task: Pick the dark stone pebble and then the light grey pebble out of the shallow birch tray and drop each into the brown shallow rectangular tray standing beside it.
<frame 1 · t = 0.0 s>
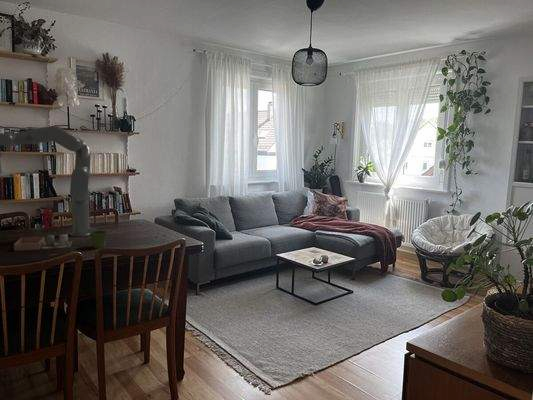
pebble dark: (50, 245, 220), point 1 cm above the table, touching birch tray
brown shallow rectangular tray: (30, 247, 216), on the table
birch tray: (57, 246, 221), on the table
pebble grey: (63, 245, 222), point 1 cm above the table, touching birch tray
plant pot: (98, 247, 221), on the table
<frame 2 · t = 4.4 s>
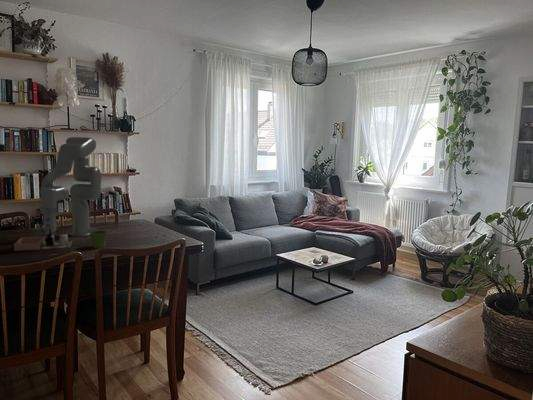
hand: (50, 243, 219), 2 cm above the table, fingers closed on pebble dark, 4 cm apart
pebble dark: (50, 245, 220), point 1 cm above the table, touching birch tray, gripper
everything else where it was.
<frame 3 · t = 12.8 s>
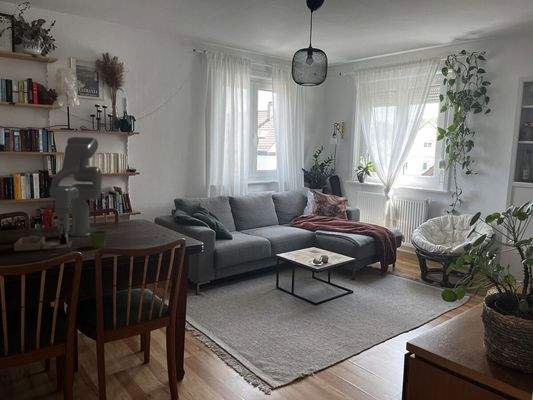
hand: (63, 242, 222), 2 cm above the table, fingers closed on pebble grey, 4 cm apart
pebble dark: (33, 246, 216), point 1 cm above the table, touching brown shallow rectangular tray
pebble grey: (63, 245, 222), point 1 cm above the table, touching birch tray, gripper
everything else where it was.
when the fingers open (3 cm above the table, at t = 17.3 s): pebble grey stays where it is, resting on brown shallow rectangular tray.
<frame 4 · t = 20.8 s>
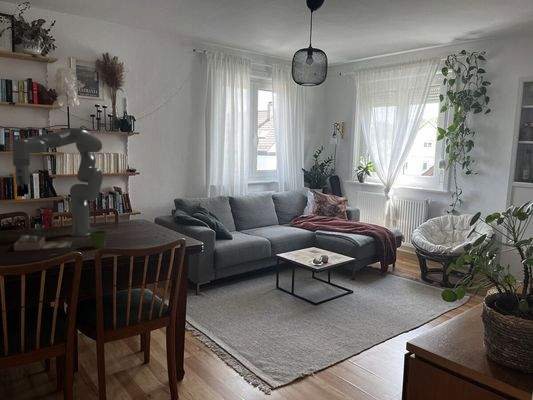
hand: (23, 195, 213), 28 cm above the table, fingers open, 9 cm apart
pebble grey: (25, 246, 217), point 1 cm above the table, touching brown shallow rectangular tray
everything else where it was.
at the end: pebble dark inside the target area on the brown shallow rectangular tray (1.7 cm from its centre), point 0.6 cm above the brown shallow rectangular tray's base; pebble grey inside the target area on the brown shallow rectangular tray (2.7 cm from its centre), point 0.6 cm above the brown shallow rectangular tray's base; the gripper is holding nothing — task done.
